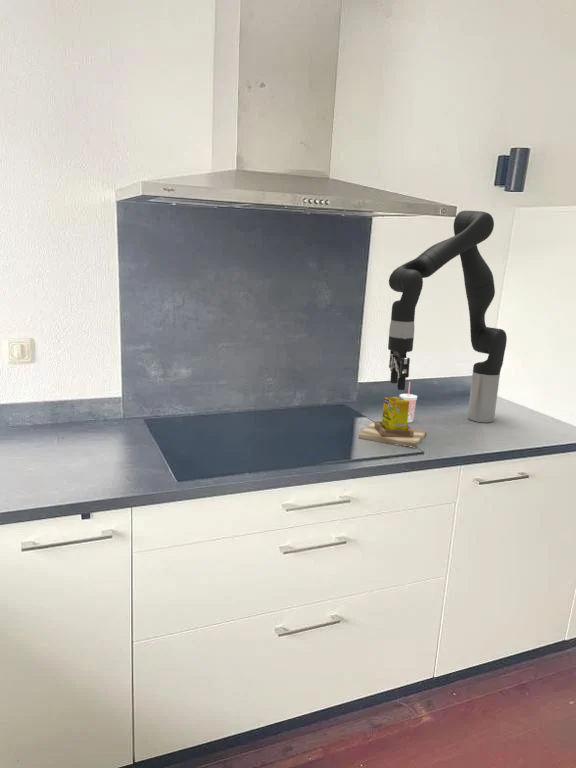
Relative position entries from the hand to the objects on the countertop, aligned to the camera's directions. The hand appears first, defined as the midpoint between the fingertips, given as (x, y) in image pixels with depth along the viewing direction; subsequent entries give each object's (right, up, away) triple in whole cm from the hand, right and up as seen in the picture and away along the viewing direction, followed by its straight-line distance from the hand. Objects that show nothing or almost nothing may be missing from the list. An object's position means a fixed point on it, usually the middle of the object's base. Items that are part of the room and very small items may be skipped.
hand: (397, 386), depth 185 cm
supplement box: (-1, -15, +3) cm, 15 cm away
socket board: (-1, -16, +4) cm, 17 cm away
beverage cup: (+7, -12, +23) cm, 27 cm away
